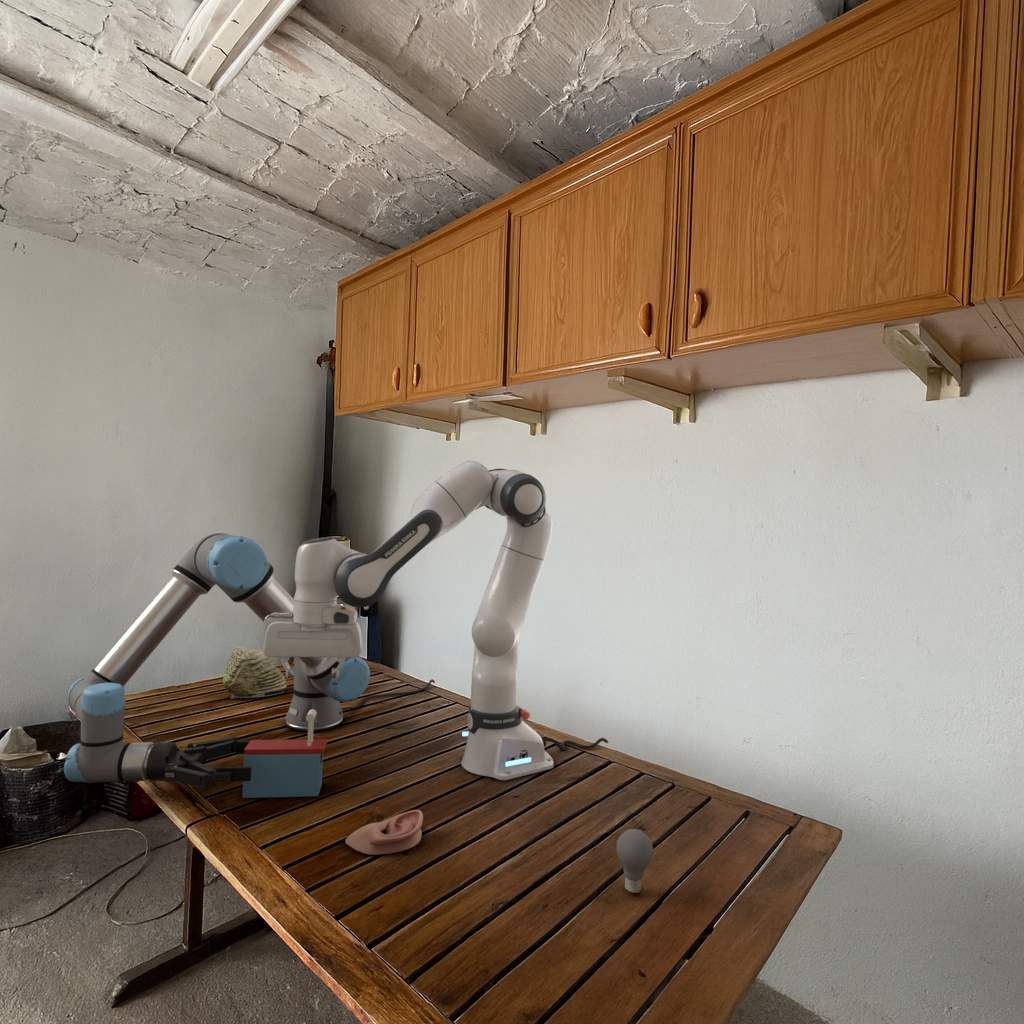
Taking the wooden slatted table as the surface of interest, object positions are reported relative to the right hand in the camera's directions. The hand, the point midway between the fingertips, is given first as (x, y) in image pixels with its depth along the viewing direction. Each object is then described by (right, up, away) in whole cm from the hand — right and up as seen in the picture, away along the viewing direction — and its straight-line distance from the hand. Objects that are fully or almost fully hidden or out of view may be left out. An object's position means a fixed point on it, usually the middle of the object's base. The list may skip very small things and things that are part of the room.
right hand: (312, 677), depth 136 cm
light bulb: (+63, -28, -30) cm, 75 cm away
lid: (-5, -15, 0) cm, 16 cm away
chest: (-6, -24, 0) cm, 25 cm away
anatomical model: (+19, -26, -18) cm, 37 cm away
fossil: (-38, -22, +62) cm, 76 cm away
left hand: (-11, -17, -1) cm, 20 cm away
